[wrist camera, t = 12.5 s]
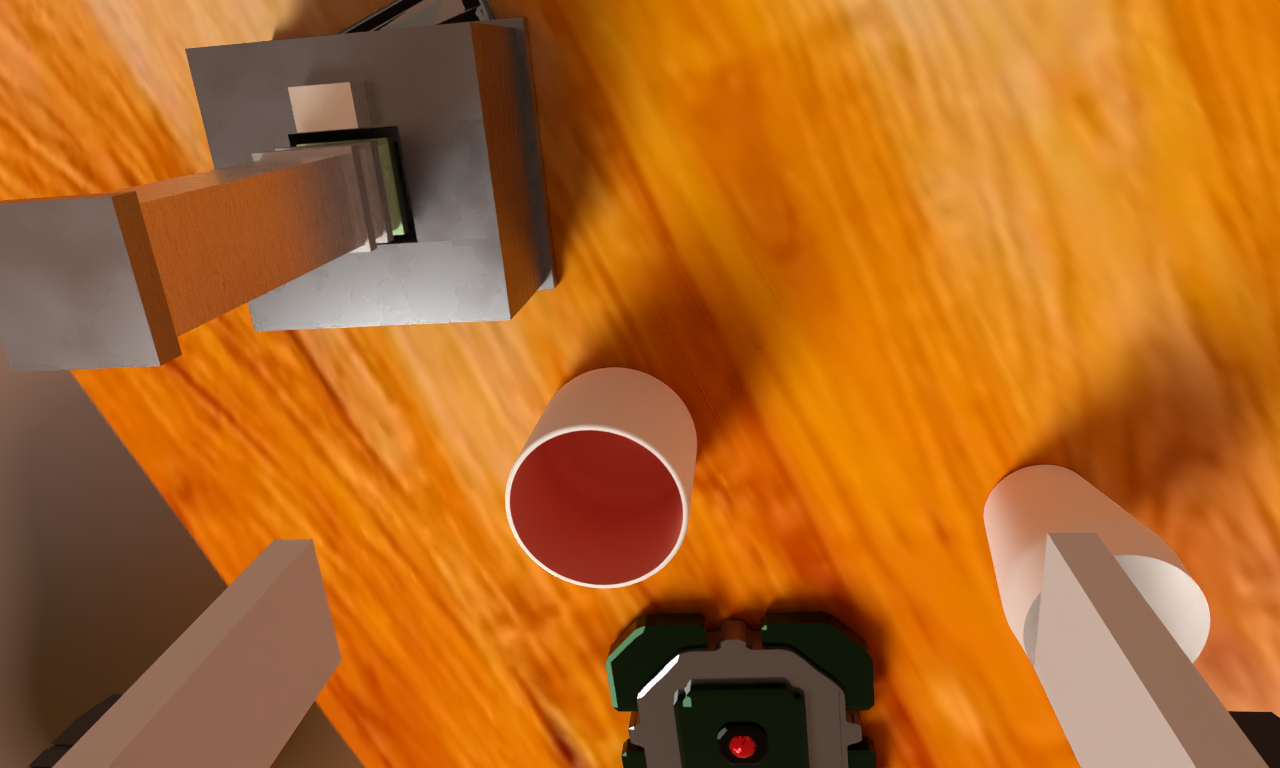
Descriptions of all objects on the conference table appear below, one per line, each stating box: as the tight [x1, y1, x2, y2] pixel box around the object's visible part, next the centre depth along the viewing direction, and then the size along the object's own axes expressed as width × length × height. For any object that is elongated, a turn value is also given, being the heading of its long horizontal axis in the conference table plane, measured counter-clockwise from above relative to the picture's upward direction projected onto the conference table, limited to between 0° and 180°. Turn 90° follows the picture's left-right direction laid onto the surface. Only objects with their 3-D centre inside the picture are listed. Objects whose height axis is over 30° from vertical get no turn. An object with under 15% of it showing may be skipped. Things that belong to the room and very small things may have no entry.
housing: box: [185, 17, 558, 331], centre depth 45 cm, size 15×15×10 cm
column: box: [0, 137, 412, 372], centre depth 34 cm, size 5×5×21 cm
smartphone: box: [338, 0, 495, 34], centre depth 49 cm, size 7×1×15 cm
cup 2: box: [984, 465, 1210, 667], centre depth 48 cm, size 9×9×12 cm
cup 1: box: [505, 367, 697, 588], centre depth 50 cm, size 10×10×10 cm
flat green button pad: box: [606, 611, 876, 768], centre depth 60 cm, size 18×18×5 cm
